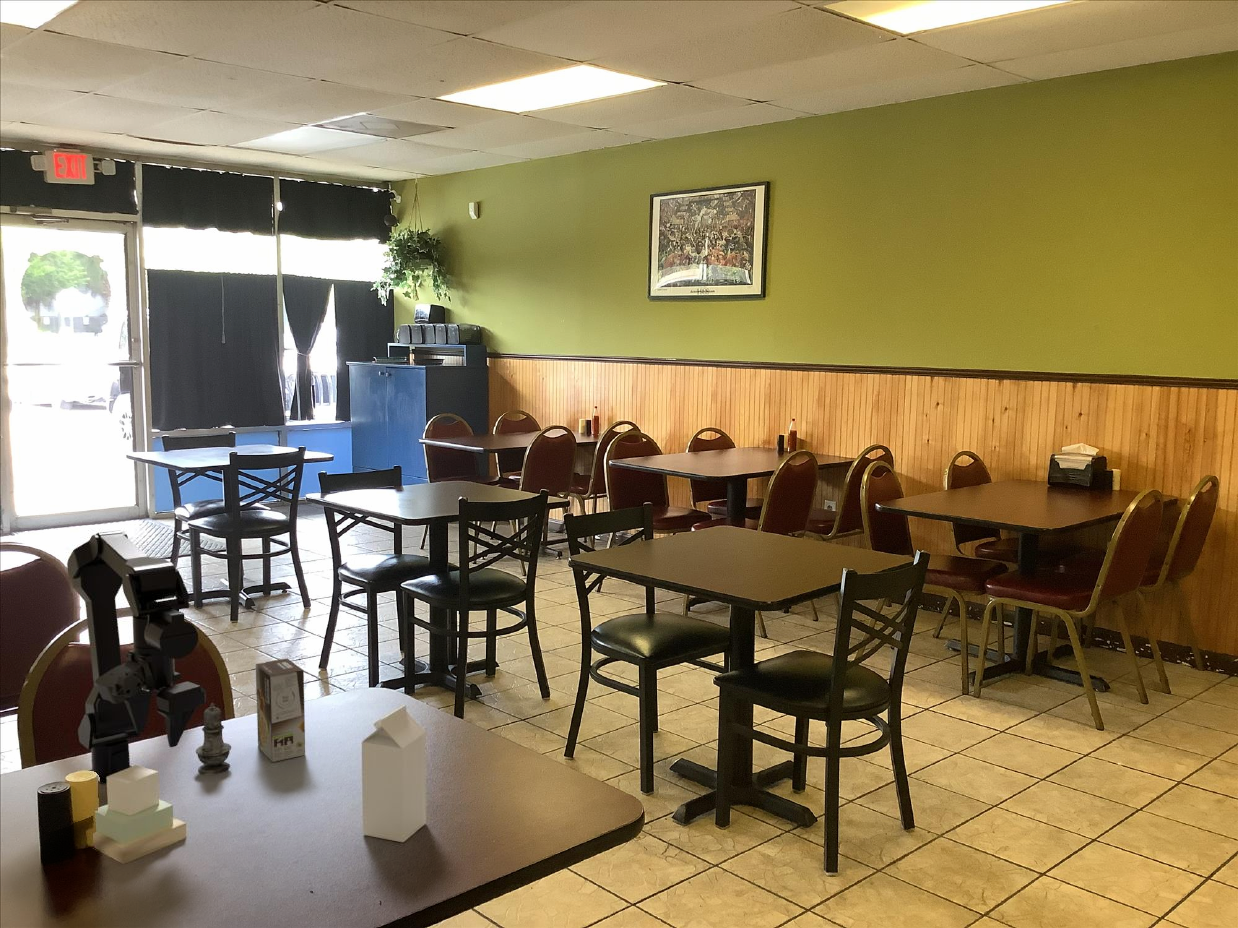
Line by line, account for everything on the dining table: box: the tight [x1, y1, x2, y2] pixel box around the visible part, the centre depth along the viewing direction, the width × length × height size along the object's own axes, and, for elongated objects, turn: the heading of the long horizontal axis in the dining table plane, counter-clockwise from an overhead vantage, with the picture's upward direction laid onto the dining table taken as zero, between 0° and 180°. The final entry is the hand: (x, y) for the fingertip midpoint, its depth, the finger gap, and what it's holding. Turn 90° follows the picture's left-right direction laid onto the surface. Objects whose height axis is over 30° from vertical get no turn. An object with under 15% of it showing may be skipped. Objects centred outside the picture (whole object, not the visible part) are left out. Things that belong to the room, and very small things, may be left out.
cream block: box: [106, 764, 160, 816], centre depth 157 cm, size 5×5×5 cm
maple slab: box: [93, 816, 187, 865], centre depth 157 cm, size 10×10×3 cm
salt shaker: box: [195, 702, 232, 775], centre depth 184 cm, size 6×6×12 cm
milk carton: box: [361, 704, 427, 843], centre depth 161 cm, size 7×7×19 cm
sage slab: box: [95, 798, 174, 844], centre depth 157 cm, size 8×8×3 cm
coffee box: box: [255, 658, 306, 763], centre depth 192 cm, size 9×6×16 cm
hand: (156, 739), depth 164 cm, fingers open, 9 cm apart
